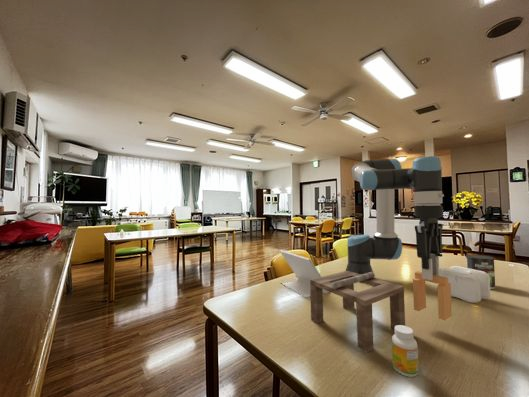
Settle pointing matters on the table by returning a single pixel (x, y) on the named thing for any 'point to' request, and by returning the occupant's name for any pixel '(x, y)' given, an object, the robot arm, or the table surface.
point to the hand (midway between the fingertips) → (430, 277)
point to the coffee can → (482, 266)
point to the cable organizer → (467, 283)
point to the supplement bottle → (405, 351)
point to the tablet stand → (301, 273)
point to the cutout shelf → (359, 301)
